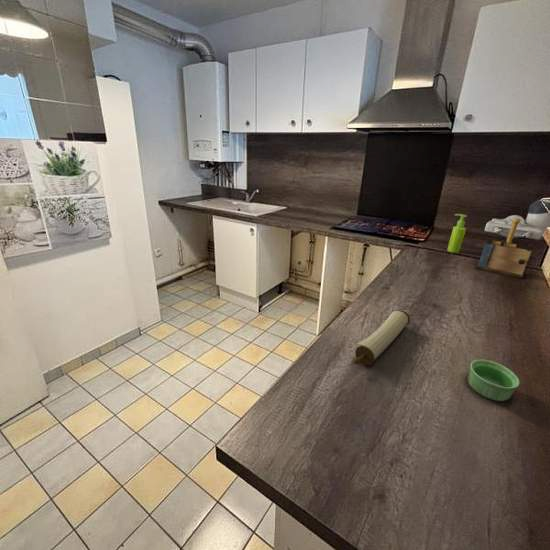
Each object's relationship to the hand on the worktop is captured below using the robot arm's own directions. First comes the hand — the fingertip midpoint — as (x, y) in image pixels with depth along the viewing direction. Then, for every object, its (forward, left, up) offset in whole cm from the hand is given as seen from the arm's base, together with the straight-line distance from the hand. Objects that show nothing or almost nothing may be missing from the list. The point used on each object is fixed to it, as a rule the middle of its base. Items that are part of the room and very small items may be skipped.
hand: (511, 233), depth 125 cm
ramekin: (+15, +88, -18) cm, 91 cm away
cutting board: (-1, -1, -18) cm, 18 cm away
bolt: (+2, -1, -6) cm, 6 cm away
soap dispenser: (+17, -25, -18) cm, 35 cm away
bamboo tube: (+39, +82, -18) cm, 93 cm away
